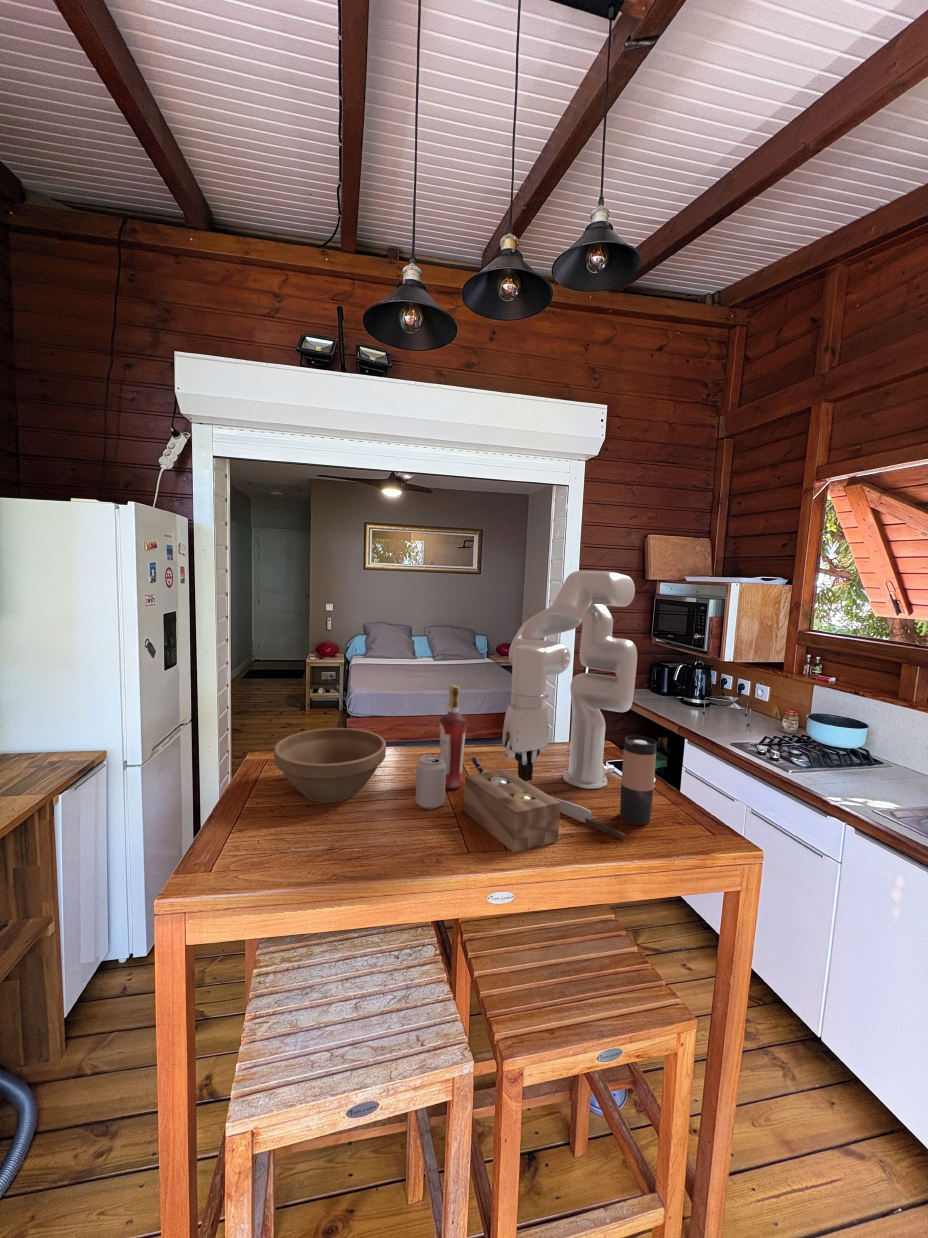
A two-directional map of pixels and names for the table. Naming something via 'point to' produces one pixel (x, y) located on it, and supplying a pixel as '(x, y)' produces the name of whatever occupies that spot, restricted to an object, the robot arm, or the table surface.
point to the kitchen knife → (587, 818)
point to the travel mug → (637, 779)
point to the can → (430, 781)
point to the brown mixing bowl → (330, 761)
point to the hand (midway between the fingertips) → (525, 778)
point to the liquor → (453, 741)
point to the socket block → (512, 810)
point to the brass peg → (522, 796)
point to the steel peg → (498, 781)
